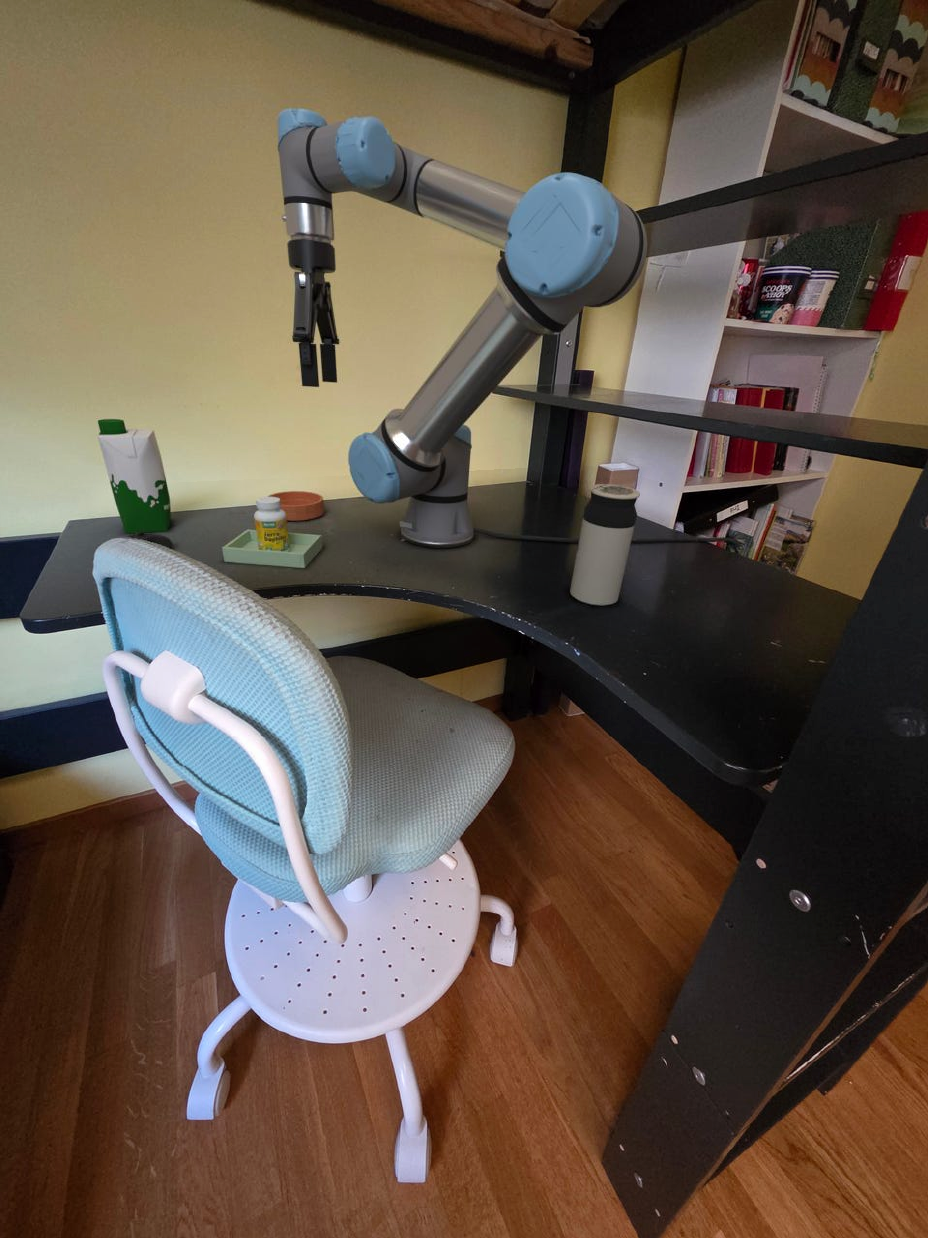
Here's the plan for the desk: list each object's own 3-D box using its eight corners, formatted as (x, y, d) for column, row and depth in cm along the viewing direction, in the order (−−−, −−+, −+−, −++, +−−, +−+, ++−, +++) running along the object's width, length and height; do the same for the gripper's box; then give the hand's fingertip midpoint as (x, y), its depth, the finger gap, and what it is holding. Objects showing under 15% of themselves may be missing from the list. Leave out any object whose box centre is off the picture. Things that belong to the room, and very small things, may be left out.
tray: (322, 548, 98) (321, 535, 97) (304, 568, 89) (303, 554, 88) (249, 542, 98) (247, 529, 97) (224, 561, 89) (221, 547, 88)
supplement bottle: (285, 544, 97) (279, 494, 92) (294, 554, 93) (288, 501, 88) (255, 548, 94) (248, 496, 89) (263, 558, 90) (256, 504, 85)
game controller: (139, 561, 84) (109, 534, 83) (124, 580, 87) (94, 553, 85) (177, 542, 93) (150, 517, 91) (162, 559, 95) (136, 535, 94)
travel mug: (626, 598, 86) (651, 492, 78) (600, 611, 81) (624, 499, 73) (586, 582, 91) (606, 481, 83) (560, 594, 86) (578, 487, 78)
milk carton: (127, 521, 104) (100, 416, 95) (177, 519, 107) (155, 417, 98) (119, 535, 97) (89, 424, 88) (173, 532, 100) (150, 424, 91)
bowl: (330, 508, 121) (329, 493, 119) (314, 523, 110) (312, 507, 108) (279, 504, 121) (278, 489, 120) (258, 519, 110) (256, 503, 109)
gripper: (309, 253, 95) (318, 379, 104) (260, 223, 72) (277, 387, 82) (349, 255, 95) (354, 381, 105) (313, 226, 73) (324, 389, 83)
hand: (320, 384), depth 94 cm, fingers open, 13 cm apart
